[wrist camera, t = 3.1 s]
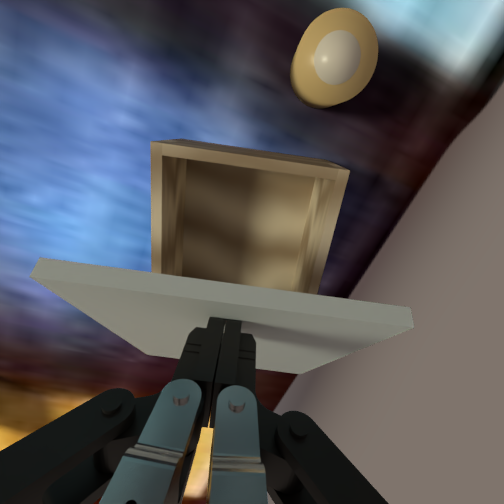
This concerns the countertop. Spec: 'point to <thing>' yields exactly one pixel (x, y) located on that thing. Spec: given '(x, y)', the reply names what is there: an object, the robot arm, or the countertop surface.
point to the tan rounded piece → (334, 58)
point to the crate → (242, 214)
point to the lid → (222, 313)
